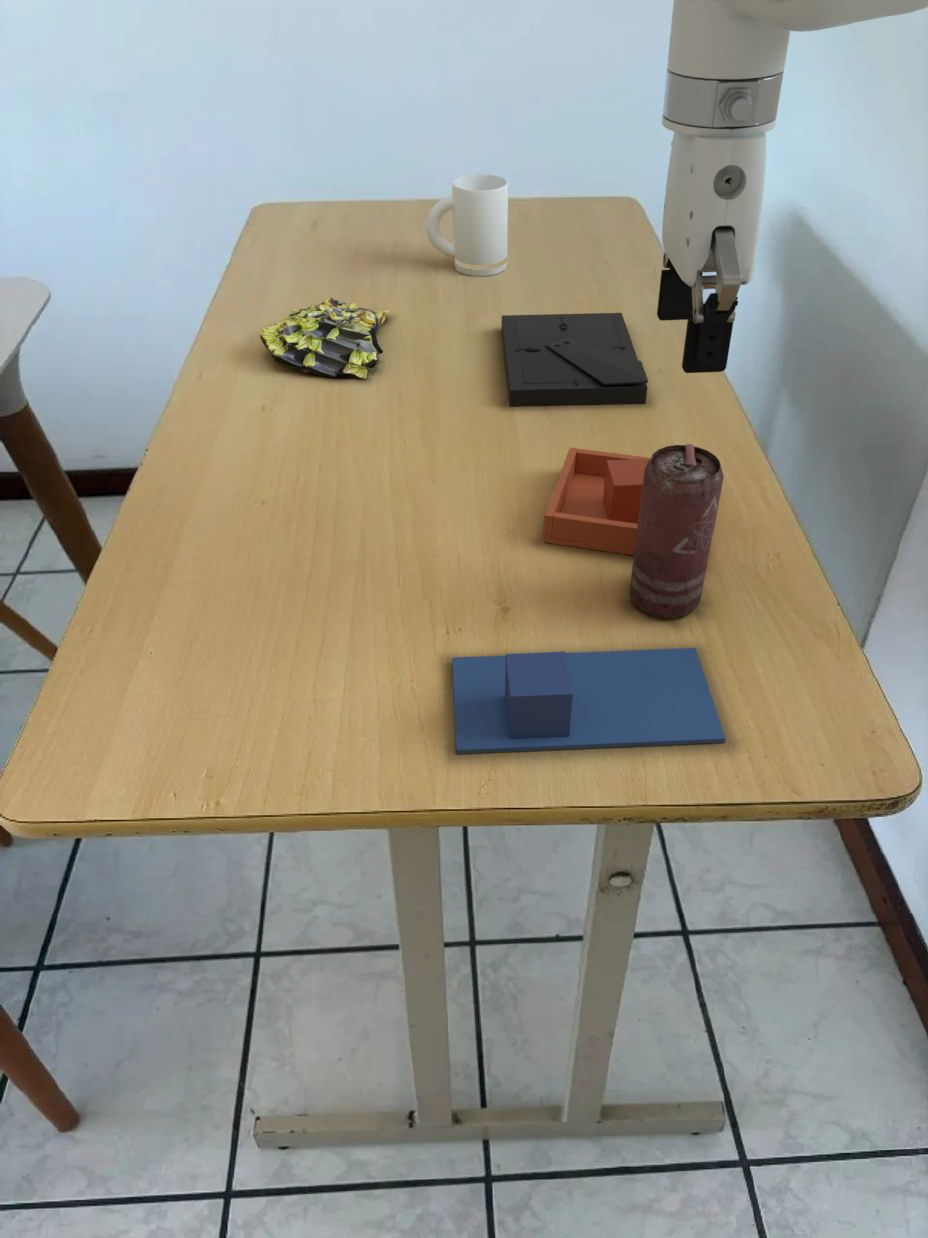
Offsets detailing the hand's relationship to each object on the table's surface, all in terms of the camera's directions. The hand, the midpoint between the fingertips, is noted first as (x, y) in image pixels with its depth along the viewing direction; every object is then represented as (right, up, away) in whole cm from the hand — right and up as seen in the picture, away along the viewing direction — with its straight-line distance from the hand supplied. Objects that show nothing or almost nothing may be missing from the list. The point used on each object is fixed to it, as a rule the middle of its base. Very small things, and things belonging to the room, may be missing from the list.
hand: (689, 343), depth 75 cm
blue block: (-12, -29, -2) cm, 32 cm away
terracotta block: (-2, -11, +18) cm, 21 cm away
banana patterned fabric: (-34, +14, +50) cm, 62 cm away
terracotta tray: (-1, -12, +19) cm, 22 cm away
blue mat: (-8, -28, 0) cm, 29 cm away
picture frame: (-5, +10, +44) cm, 45 cm away
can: (0, -20, +9) cm, 22 cm away
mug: (-17, +31, +69) cm, 78 cm away
